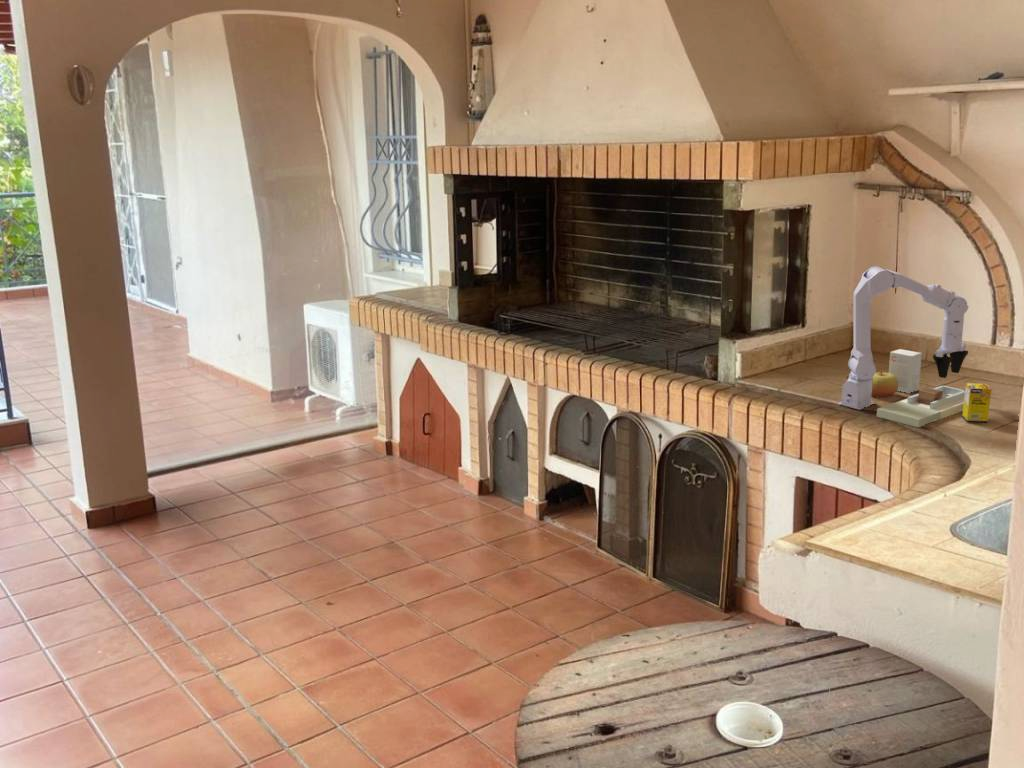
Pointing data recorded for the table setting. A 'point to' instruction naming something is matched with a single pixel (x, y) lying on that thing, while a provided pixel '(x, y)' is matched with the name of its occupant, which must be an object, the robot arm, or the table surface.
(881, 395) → the apple
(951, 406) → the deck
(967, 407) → the supplement box
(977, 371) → the table surface
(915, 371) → the small box
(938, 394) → the block
